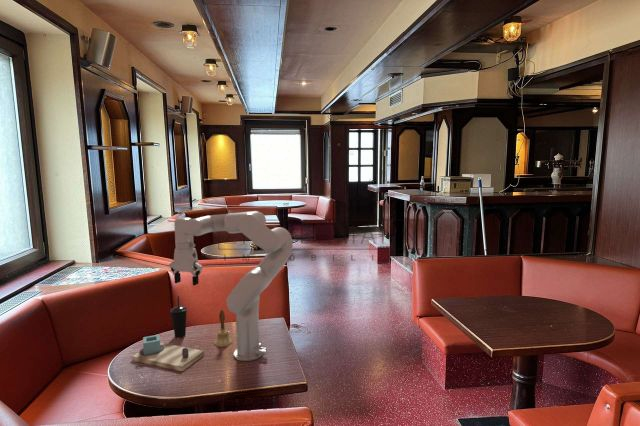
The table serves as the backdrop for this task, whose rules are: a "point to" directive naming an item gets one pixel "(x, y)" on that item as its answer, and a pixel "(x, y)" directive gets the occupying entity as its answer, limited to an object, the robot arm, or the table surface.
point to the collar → (151, 344)
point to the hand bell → (222, 333)
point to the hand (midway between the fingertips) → (186, 283)
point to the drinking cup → (179, 320)
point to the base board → (170, 357)
